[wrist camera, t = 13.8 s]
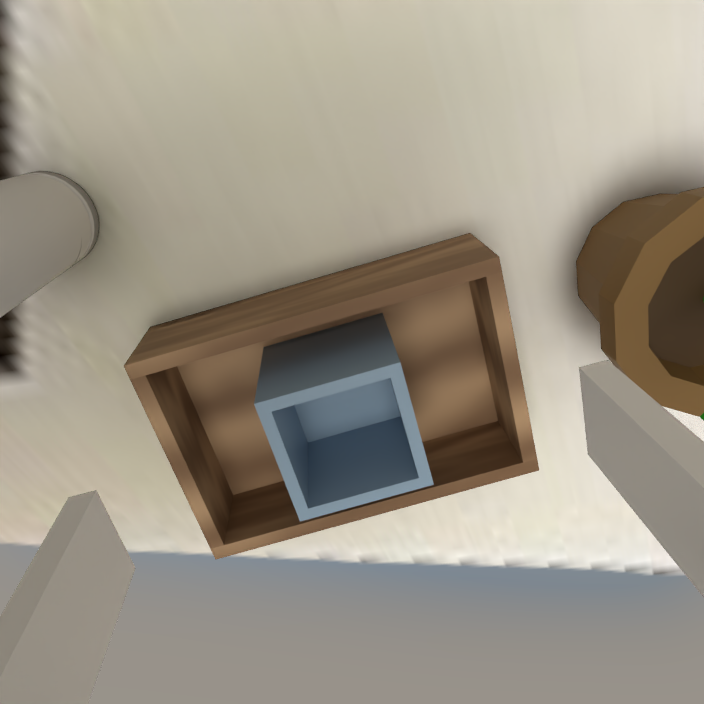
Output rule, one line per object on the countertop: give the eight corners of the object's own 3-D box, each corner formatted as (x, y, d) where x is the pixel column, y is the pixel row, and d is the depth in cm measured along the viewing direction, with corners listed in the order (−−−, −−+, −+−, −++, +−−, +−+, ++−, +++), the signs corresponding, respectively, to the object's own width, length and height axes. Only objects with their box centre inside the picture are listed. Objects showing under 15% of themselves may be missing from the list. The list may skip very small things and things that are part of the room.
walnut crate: (150, 327, 44) (123, 366, 38) (470, 233, 43) (498, 256, 37) (227, 500, 50) (215, 559, 44) (508, 421, 49) (539, 470, 43)
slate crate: (263, 347, 44) (254, 404, 36) (382, 312, 44) (400, 362, 36) (300, 448, 48) (299, 521, 40) (411, 417, 48) (433, 484, 39)
